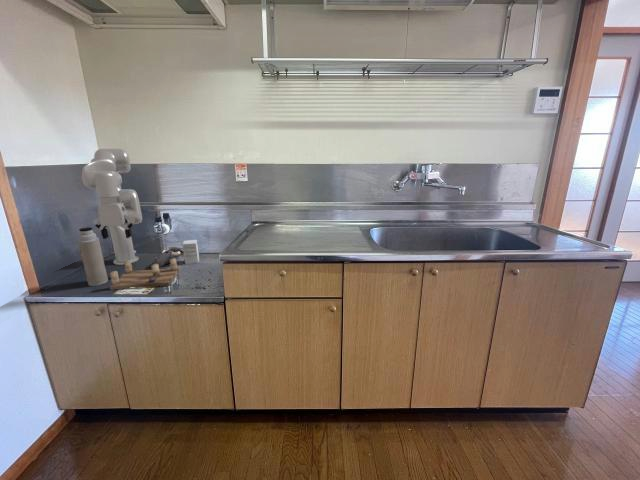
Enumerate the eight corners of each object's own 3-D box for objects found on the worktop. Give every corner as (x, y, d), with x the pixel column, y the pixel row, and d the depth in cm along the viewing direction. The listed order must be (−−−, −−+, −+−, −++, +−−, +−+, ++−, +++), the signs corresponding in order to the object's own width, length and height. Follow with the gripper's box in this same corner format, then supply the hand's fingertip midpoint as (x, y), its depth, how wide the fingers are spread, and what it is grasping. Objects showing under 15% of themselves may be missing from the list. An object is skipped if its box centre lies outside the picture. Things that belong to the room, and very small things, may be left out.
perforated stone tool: (159, 269, 158) (157, 258, 156) (151, 269, 159) (148, 257, 157) (176, 260, 172) (175, 249, 170) (168, 259, 173) (167, 249, 171)
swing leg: (154, 281, 137) (152, 270, 136) (147, 282, 137) (145, 270, 135) (161, 274, 146) (159, 263, 144) (154, 275, 145) (152, 264, 143)
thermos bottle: (85, 286, 137) (71, 230, 129) (91, 280, 144) (78, 226, 136) (105, 284, 139) (92, 229, 131) (110, 278, 147) (98, 225, 139)
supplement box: (186, 260, 172) (183, 240, 169) (199, 259, 174) (197, 239, 171) (184, 264, 166) (182, 243, 162) (198, 263, 168) (196, 242, 164)
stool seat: (127, 274, 151) (124, 260, 149) (179, 271, 155) (177, 257, 153) (110, 289, 134) (106, 274, 132) (169, 285, 138) (166, 270, 136)
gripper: (135, 199, 130) (141, 235, 135) (93, 199, 128) (101, 236, 133) (126, 201, 123) (133, 239, 128) (82, 202, 121) (91, 240, 125)
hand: (117, 237), depth 130 cm, fingers open, 9 cm apart
